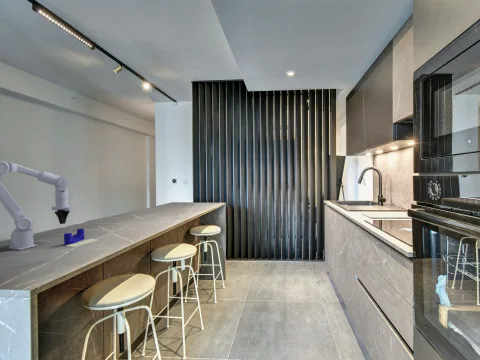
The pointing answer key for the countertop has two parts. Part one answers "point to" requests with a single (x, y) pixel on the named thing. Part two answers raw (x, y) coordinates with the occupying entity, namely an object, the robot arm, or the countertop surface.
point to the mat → (81, 243)
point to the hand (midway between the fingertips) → (62, 223)
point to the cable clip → (76, 238)
